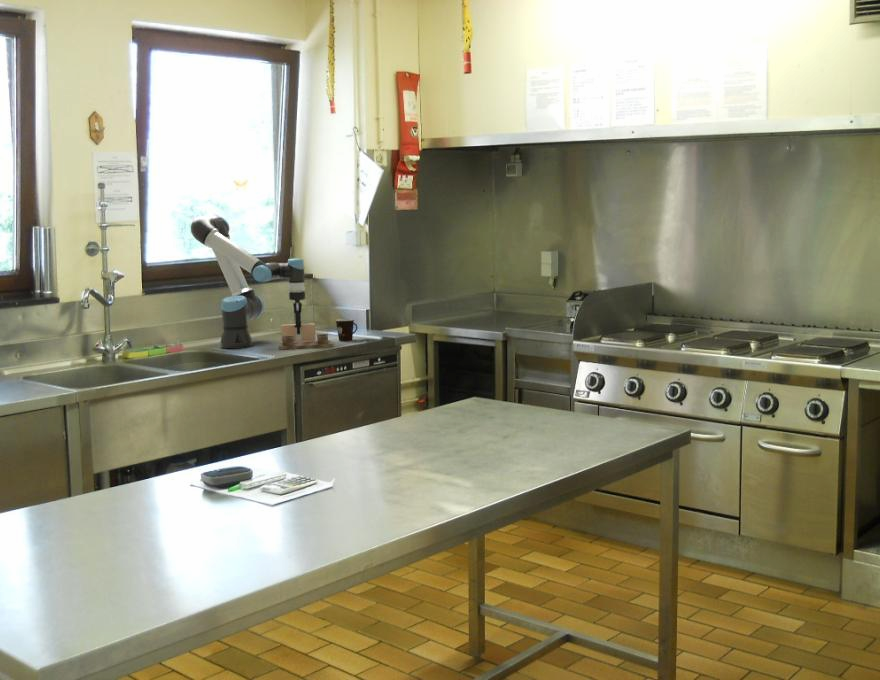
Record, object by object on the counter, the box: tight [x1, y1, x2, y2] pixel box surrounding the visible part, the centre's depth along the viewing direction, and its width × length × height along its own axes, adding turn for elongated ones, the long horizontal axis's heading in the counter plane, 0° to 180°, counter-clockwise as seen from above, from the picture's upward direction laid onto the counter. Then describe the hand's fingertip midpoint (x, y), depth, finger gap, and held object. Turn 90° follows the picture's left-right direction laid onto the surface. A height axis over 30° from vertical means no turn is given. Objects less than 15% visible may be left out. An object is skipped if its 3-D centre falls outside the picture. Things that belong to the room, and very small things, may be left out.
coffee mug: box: [335, 318, 358, 342], centre depth 492 cm, size 12×9×10 cm
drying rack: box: [278, 333, 333, 351], centre depth 478 cm, size 24×12×5 cm, turn 97°
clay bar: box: [280, 322, 317, 342], centre depth 491 cm, size 16×3×8 cm, turn 97°
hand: (298, 339), depth 491 cm, fingers closed on clay bar, 3 cm apart
